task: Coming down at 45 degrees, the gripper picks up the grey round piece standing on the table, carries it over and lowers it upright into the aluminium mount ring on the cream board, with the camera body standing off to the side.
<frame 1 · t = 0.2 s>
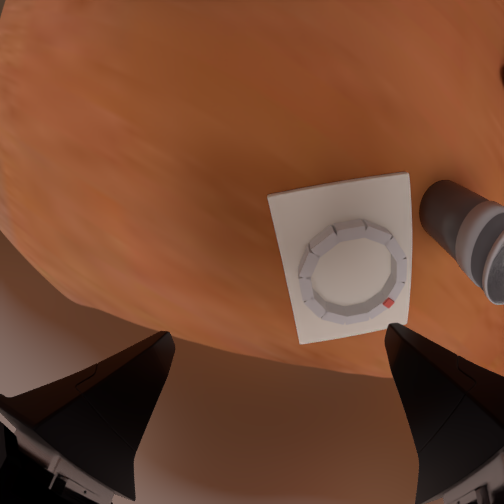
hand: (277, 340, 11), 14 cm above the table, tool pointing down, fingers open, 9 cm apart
grey round piece: (443, 209, 21), on the table
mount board: (350, 266, 25), on the table
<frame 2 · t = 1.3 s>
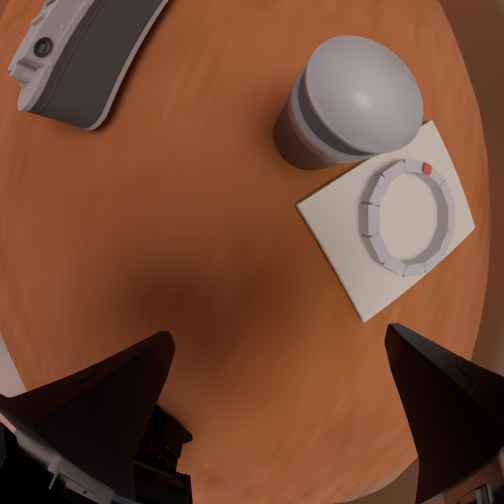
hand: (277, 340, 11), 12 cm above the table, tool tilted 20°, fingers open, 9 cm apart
grey round piece: (308, 136, 20), on the table
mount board: (402, 216, 22), on the table
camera: (116, 53, 18), on the table
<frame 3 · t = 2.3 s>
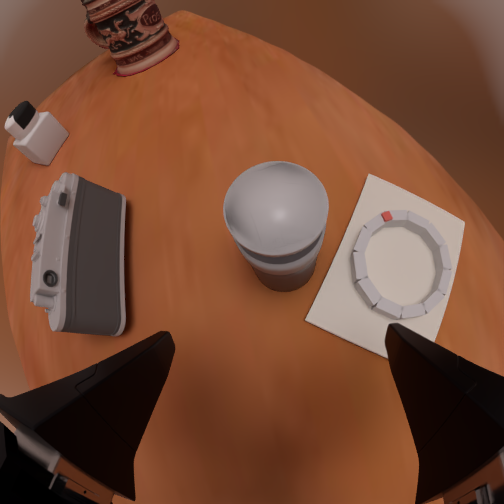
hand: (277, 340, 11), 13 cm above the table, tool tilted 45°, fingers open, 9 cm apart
grey round piece: (284, 261, 25), on the table
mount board: (397, 268, 23), on the table
medicine bottle: (51, 149, 39), on the table
beer stein: (143, 55, 44), on the table
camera: (110, 267, 29), on the table
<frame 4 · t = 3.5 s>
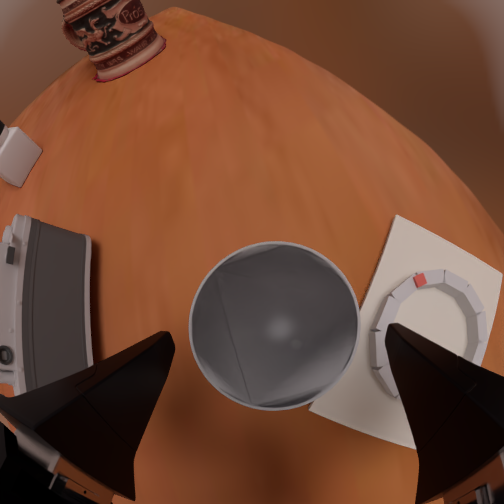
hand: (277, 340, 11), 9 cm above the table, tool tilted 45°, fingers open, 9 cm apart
grey round piece: (285, 335, 19), on the table
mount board: (424, 339, 17), on the table
medicine bottle: (25, 167, 33), on the table
beer stein: (126, 57, 38), on the table
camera: (79, 322, 22), on the table
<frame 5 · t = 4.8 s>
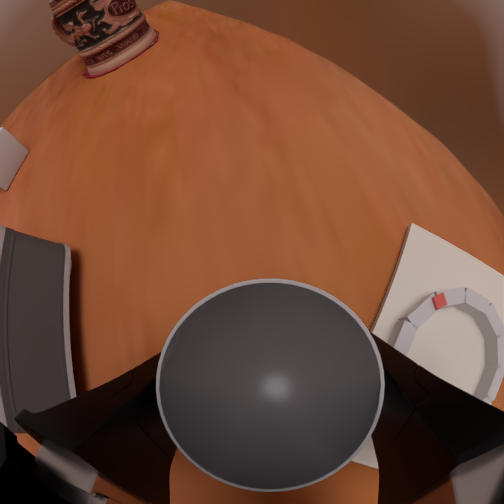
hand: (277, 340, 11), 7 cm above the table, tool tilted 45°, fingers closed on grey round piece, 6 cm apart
grey round piece: (285, 362, 16), on the table, touching gripper
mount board: (439, 364, 14), on the table
medicine bottle: (12, 169, 30), on the table
beer stein: (118, 52, 35), on the table
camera: (62, 338, 19), on the table
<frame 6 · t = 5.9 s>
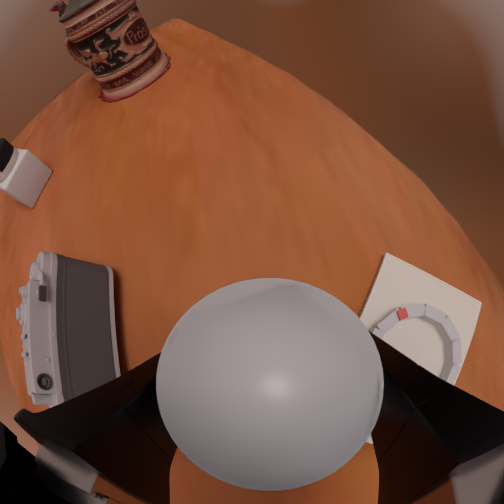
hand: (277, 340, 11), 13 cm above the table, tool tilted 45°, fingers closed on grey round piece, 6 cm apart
grey round piece: (285, 362, 16), point 7 cm above the table, touching gripper
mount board: (406, 360, 20), on the table
medicine bottle: (35, 187, 36), on the table
beer stein: (131, 75, 41), on the table
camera: (104, 343, 26), on the table
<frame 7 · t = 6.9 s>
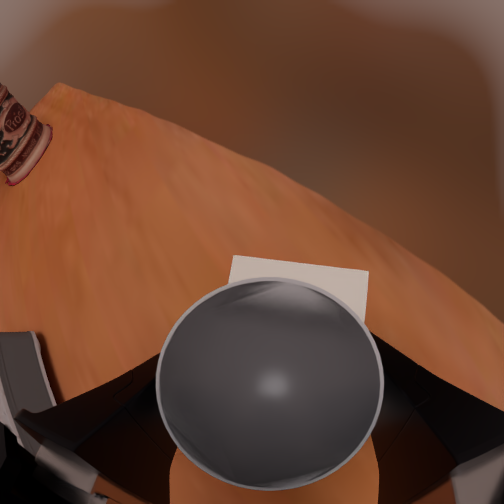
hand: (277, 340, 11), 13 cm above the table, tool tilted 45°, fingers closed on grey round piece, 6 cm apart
grey round piece: (285, 362, 16), point 6 cm above the table, touching gripper
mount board: (287, 356, 22), on the table
beer stein: (26, 154, 40), on the table
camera: (49, 394, 24), on the table
when the fingers open (9 cm above the table, at t = 8.1 s): grey round piece drops 2 cm, resting on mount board.
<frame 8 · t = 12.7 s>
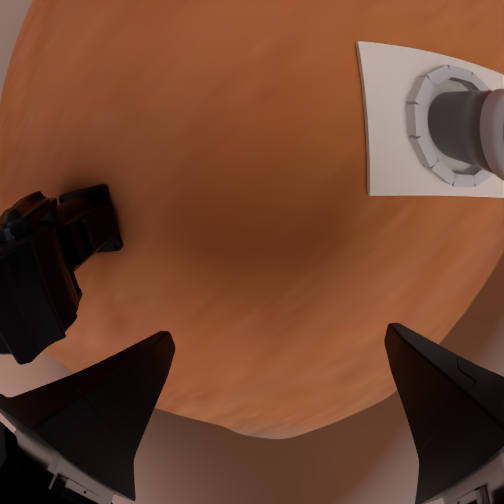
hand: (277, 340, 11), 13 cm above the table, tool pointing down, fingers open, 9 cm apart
grey round piece: (454, 125, 16), point 1 cm above the table, touching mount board
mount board: (450, 124, 16), on the table
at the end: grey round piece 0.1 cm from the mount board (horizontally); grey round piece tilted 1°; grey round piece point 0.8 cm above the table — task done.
